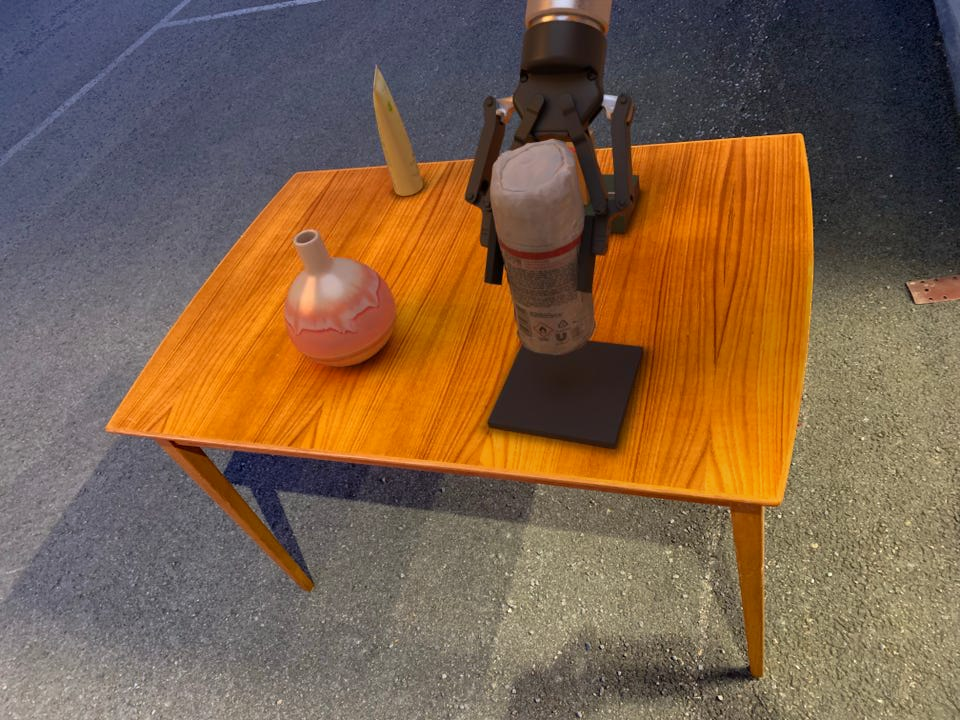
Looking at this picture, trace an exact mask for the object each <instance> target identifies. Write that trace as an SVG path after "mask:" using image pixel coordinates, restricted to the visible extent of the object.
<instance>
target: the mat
mask: <svg viewBox="0 0 960 720" xmlns="http://www.w3.org/2000/svg"><path fill="white" fill-rule="evenodd" d="M643 354H644V347H643V346H639V345H632V344H622V343H614V342H606V341H605V342H604V341H597V340H588V341H587V343H586V344H585V345H583V346H582V347H581V348H579V349H576V350H574V351H571V352H569V353H566V354H562V355H552V354H542V353H537V352H533V351H532V350H529V349H527V348H526V347H524V346H523V344H522V343H521V345H520V348H519V351H518V352H517V354H516V356H515V359H514V361H513V363H512V366H511V368H510V370H509V372H508V375H507V376H506V379H505V381H504V383H503V386H502V388H501V390H500V392H499V395H498V396H497V399H496V402H495V403H494V406H493V408H492V410H491V413H490V415H489V417H488V418H487V425H488V428H490V429H496V430H500V431H501V430H502V431H506V432H508V431H509V432H513V433H518V434H519V433H520V434H525V435H531V436H536V437H542V438H547V439H554V440H558V441H566V442H571V443H572V442H573V443H577V444H583V445H588V446H593V447H595V446H596V447H600V448H606V449H612V450H616V448H617V443H618V440H619V437H620V433H621V430H622V427H623V423H624V420H625V416H626V413H627V409H628V405H629V402H630V399H631V396H632V392H633V388H634V385H635V382H636V379H637V375H638V371H639V368H640V365H641V361H642V358H643Z"/></svg>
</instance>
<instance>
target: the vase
mask: <svg viewBox="0 0 960 720" xmlns="http://www.w3.org/2000/svg"><path fill="white" fill-rule="evenodd" d="M292 241H293V245H294V247H295V250H296V252H297V254H298V257H299V258H300V261H301V263H302V265H303V269H302V270H301V271H300V272H299V273H298V275H297V276H296V277H295V278H294V280H293V281H292V283H291V285H290V286H289V288H288V290H287V293H286V296H285V300H284V304H283V305H284V306H283V318H284V320H283V321H284V326H285V329H286V332H287V335H288V337H289V339H290V341H291V342H292V344H293V345H294V347H295V348H296V350H297V351H298V352H299V353H301V355H303V356H304V357H305V358H306V359H308V360H311V362H314V363H315V364H320V365H322V366H327V367H332V368H333V367H337V368H341V367H349V366H356V365H359V364H362V363H365V362H367V361H368V360H369V359H371V358H372V357H374V356H375V355H376V354H377V353H378V352H379V351H381V350H382V349H383V347H384V346H385V345H386V344H387V343H388V341H389V339H390V338H391V336H392V334H393V331H394V329H395V326H396V321H397V316H398V315H397V304H396V301H395V297H394V294H393V292H392V290H391V288H390V286H389V284H388V283H387V281H386V280H385V279H384V278H383V276H382V275H381V274H379V272H378V271H376V270H375V269H374V268H372V267H371V266H369V265H368V264H366V263H363V262H361V261H359V260H356V259H352V258H349V257H339V256H336V257H335V256H334V257H333V256H332V257H331V254H330V253H329V251H328V248H327V246H326V244H325V242H324V240H323V238H322V236H321V234H320V232H319V231H318V230H317V229H313V228H309V229H305V230H303V231H301V232H298V233H297V234H296V235H295V236H294V238H293V239H292Z"/></svg>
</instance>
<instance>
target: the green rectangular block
mask: <svg viewBox="0 0 960 720" xmlns="http://www.w3.org/2000/svg"><path fill="white" fill-rule="evenodd" d="M601 174H602V177H603V180H604V183H605V187H606V190H607V193H608V196H609V199H610V200H613V199H615V189H614V173H612V174H610V173H609V174H607V173H601ZM633 190H634V208H635V207H636V203H637V201H638V199H639V196H640V194H641V189H640V175H639V174H633ZM584 208H585V214H586V216H594V217H595V213H594V212H593V206H592V203H591V199H590V200H589V202H588V205H584ZM632 215H633V212H631V213H630V214H623V215H619V216H617V217H615V218H614V219H613V220H612V222H611V228H610V234H626V231H627V229H628V225H629V223H630V221H631V218H632Z"/></svg>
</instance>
